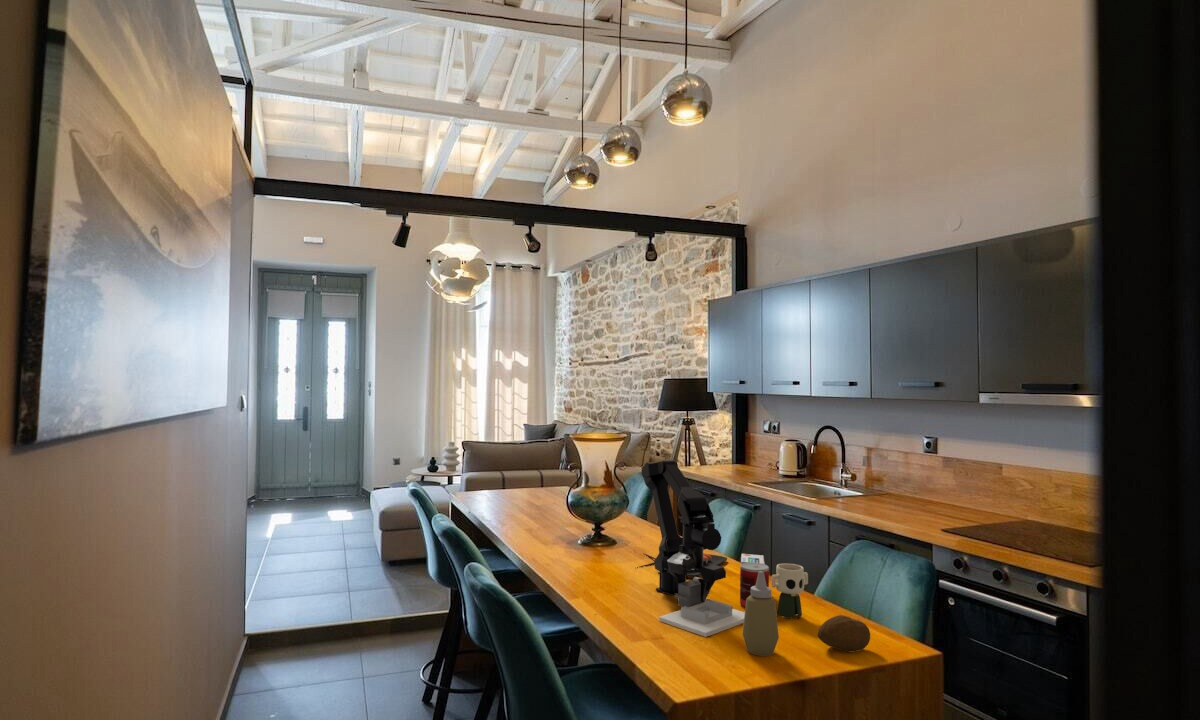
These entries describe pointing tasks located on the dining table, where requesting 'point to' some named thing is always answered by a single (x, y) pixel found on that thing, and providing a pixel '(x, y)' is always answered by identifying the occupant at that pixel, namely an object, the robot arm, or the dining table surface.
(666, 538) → the robot arm
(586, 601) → the dining table surface
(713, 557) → the sushi plate
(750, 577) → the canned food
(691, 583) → the block
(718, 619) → the plate
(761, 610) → the squeeze bottle
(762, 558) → the light bulb box
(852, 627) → the potato
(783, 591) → the character mug
